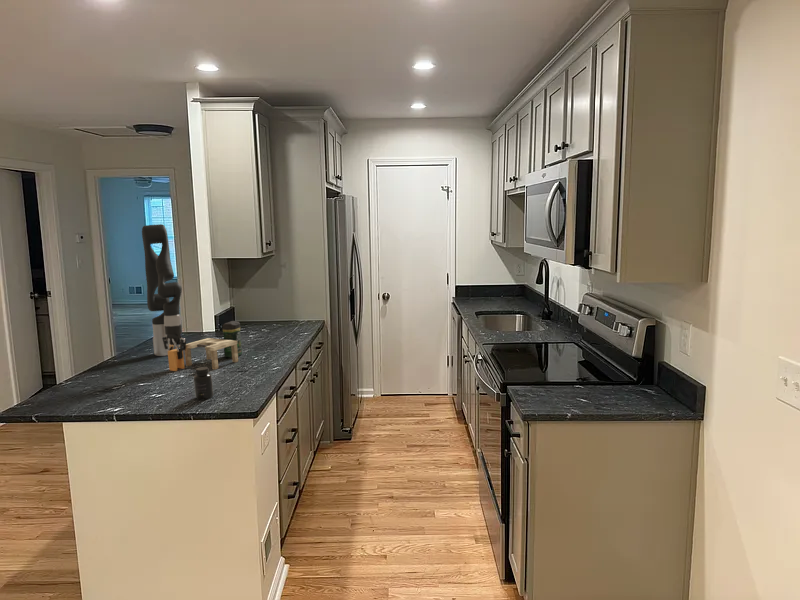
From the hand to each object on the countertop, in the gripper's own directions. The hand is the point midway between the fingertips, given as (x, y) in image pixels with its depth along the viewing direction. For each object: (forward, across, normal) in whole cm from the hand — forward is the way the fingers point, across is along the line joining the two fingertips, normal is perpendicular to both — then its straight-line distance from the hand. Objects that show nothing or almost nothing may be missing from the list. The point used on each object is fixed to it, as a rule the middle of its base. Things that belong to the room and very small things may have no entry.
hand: (176, 358), depth 259 cm
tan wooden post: (+5, 0, 0) cm, 5 cm away
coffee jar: (+6, +8, +30) cm, 32 cm away
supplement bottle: (+6, +46, -27) cm, 54 cm away
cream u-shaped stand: (+5, +9, +14) cm, 17 cm away
